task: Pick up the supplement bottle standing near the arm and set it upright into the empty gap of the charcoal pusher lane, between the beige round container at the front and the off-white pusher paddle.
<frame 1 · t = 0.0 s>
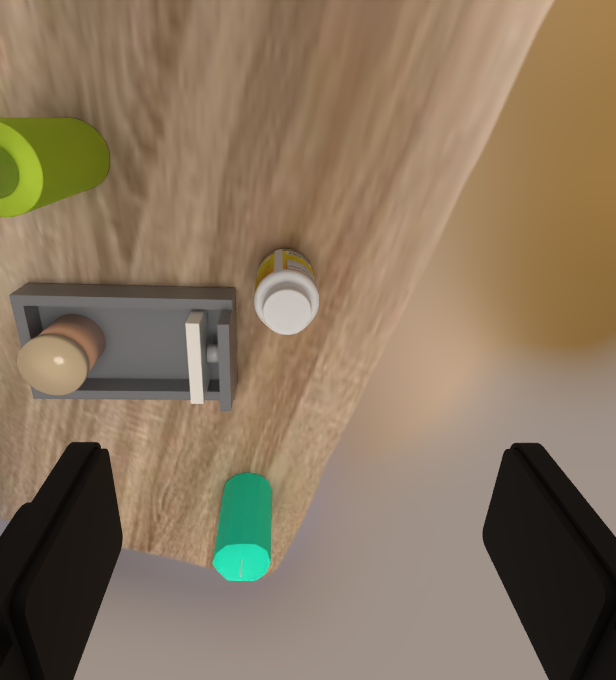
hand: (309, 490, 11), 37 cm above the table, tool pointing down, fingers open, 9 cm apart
pusher lane: (139, 336, 49), on the table
supplement bottle: (285, 274, 47), on the table
candle: (247, 490, 59), on the table
beige round container: (77, 339, 48), point 1 cm above the table, touching pusher lane
pusher paddle: (199, 353, 46), point 4 cm above the table, slide at 0.0 cm
soap dispenser: (72, 159, 42), on the table
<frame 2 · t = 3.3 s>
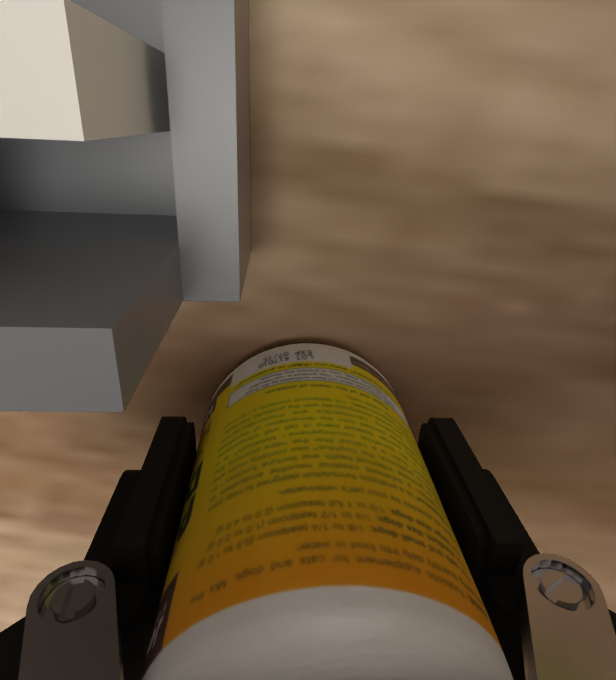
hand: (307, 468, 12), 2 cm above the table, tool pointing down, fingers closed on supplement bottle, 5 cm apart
supplement bottle: (303, 417, 14), on the table, touching gripper
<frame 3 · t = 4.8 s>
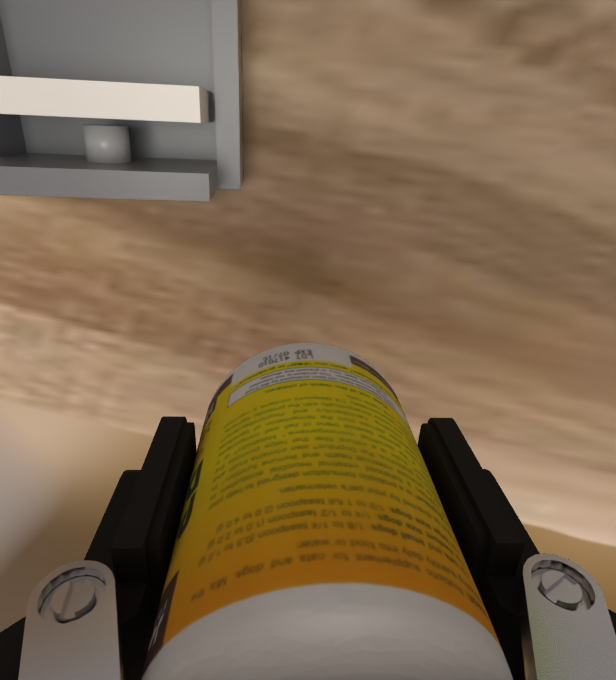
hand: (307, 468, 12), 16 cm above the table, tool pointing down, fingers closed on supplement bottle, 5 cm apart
supplement bottle: (303, 416, 14), point 14 cm above the table, touching gripper
pusher paddle: (101, 101, 19), point 4 cm above the table, slide at 0.0 cm
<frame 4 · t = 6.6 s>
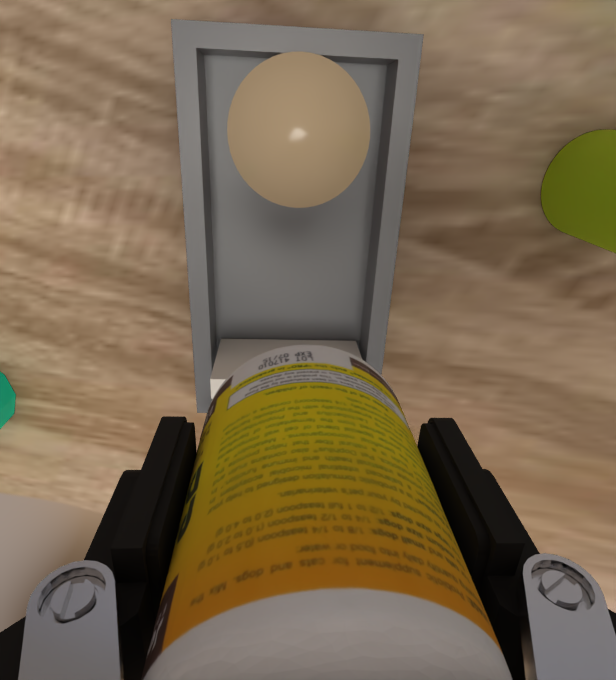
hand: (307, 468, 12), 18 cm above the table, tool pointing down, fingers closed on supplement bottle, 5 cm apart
pusher lane: (291, 237, 28), on the table
supplement bottle: (303, 418, 14), point 16 cm above the table, touching gripper
beige round container: (294, 130, 25), point 1 cm above the table, touching pusher lane
pusher paddle: (289, 367, 27), point 4 cm above the table, slide at 0.0 cm
soap dispenser: (584, 177, 28), on the table
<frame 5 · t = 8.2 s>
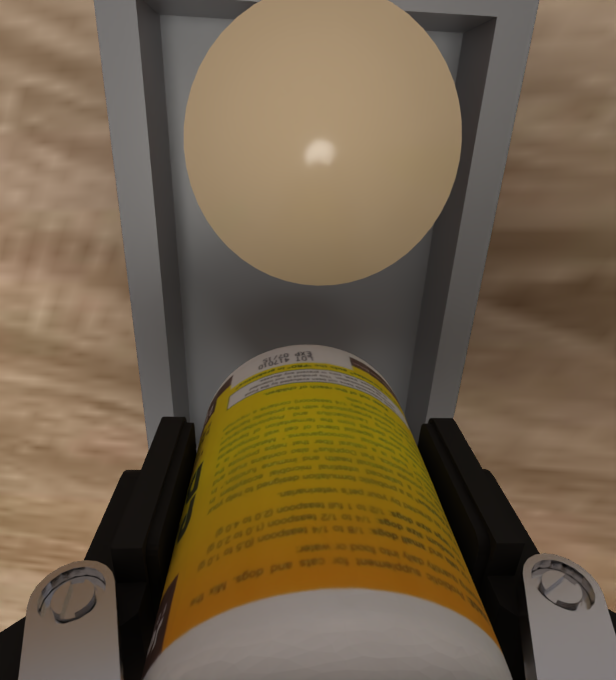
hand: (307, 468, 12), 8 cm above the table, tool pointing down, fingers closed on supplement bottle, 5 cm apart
pusher lane: (301, 299, 19), on the table
supplement bottle: (303, 418, 14), point 6 cm above the table, touching gripper
beige round container: (309, 141, 15), point 1 cm above the table, touching pusher lane
pusher paddle: (298, 497, 18), point 4 cm above the table, slide at 0.0 cm
when the fingers open (4 cm above the table, at t = 9.8 s): supplement bottle drops 1 cm, resting on pusher lane.
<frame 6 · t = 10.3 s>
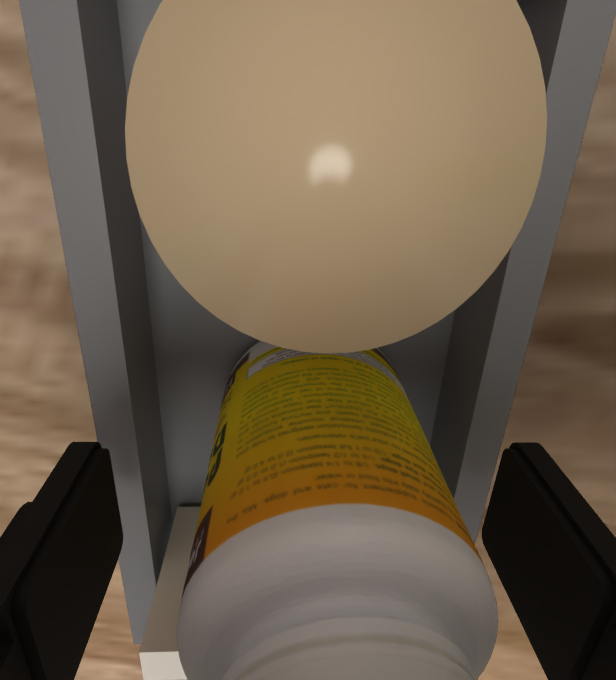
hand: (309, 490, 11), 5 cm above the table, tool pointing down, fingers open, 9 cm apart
pusher lane: (302, 336, 15), on the table
supplement bottle: (311, 394, 15), point 1 cm above the table, touching pusher lane
beige round container: (312, 145, 12), point 1 cm above the table, touching pusher lane
pusher paddle: (299, 579, 15), point 4 cm above the table, slide at 0.0 cm
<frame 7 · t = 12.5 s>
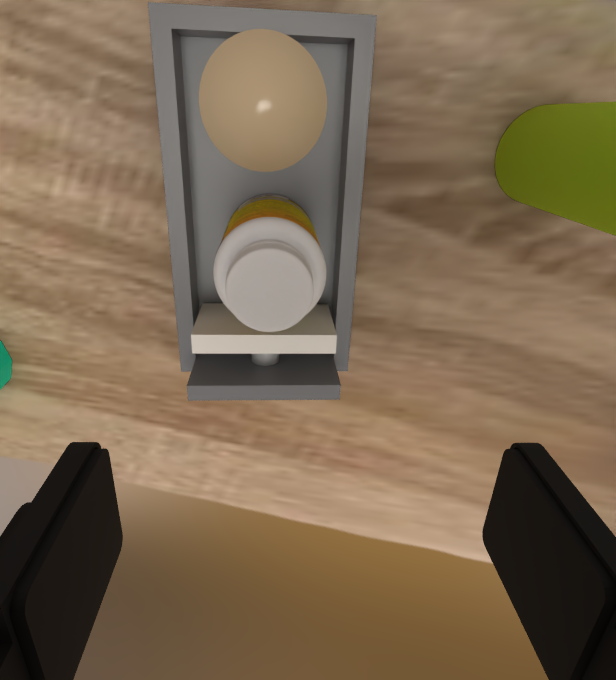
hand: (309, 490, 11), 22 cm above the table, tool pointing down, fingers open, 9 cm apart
pusher lane: (265, 207, 30), on the table
supplement bottle: (270, 237, 30), point 1 cm above the table, touching pusher lane
beige round container: (265, 106, 27), point 1 cm above the table, touching pusher lane
pusher paddle: (265, 327, 30), point 4 cm above the table, slide at 0.0 cm
soap dispenser: (534, 149, 30), on the table
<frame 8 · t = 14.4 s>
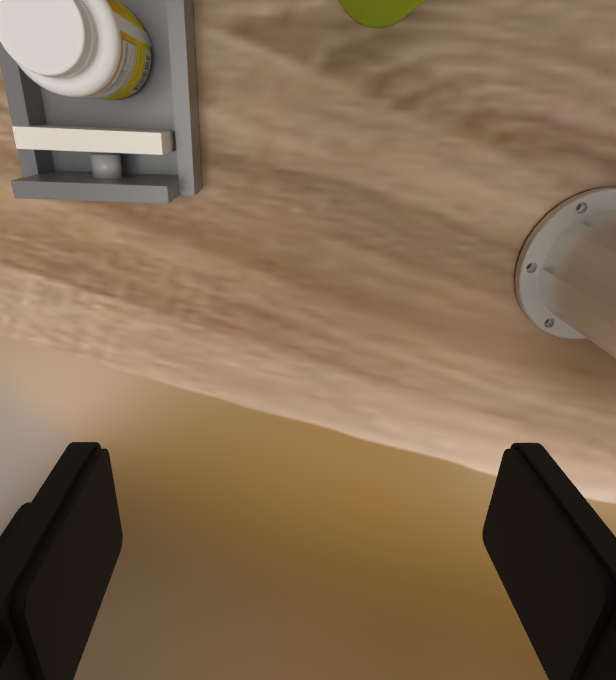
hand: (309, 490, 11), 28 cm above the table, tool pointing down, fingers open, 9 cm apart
pusher lane: (108, 24, 31), on the table
supplement bottle: (112, 53, 31), point 1 cm above the table, touching pusher lane
pusher paddle: (103, 139, 30), point 4 cm above the table, slide at 0.0 cm
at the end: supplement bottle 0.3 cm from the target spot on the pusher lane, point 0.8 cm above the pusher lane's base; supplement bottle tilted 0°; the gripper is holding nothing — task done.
